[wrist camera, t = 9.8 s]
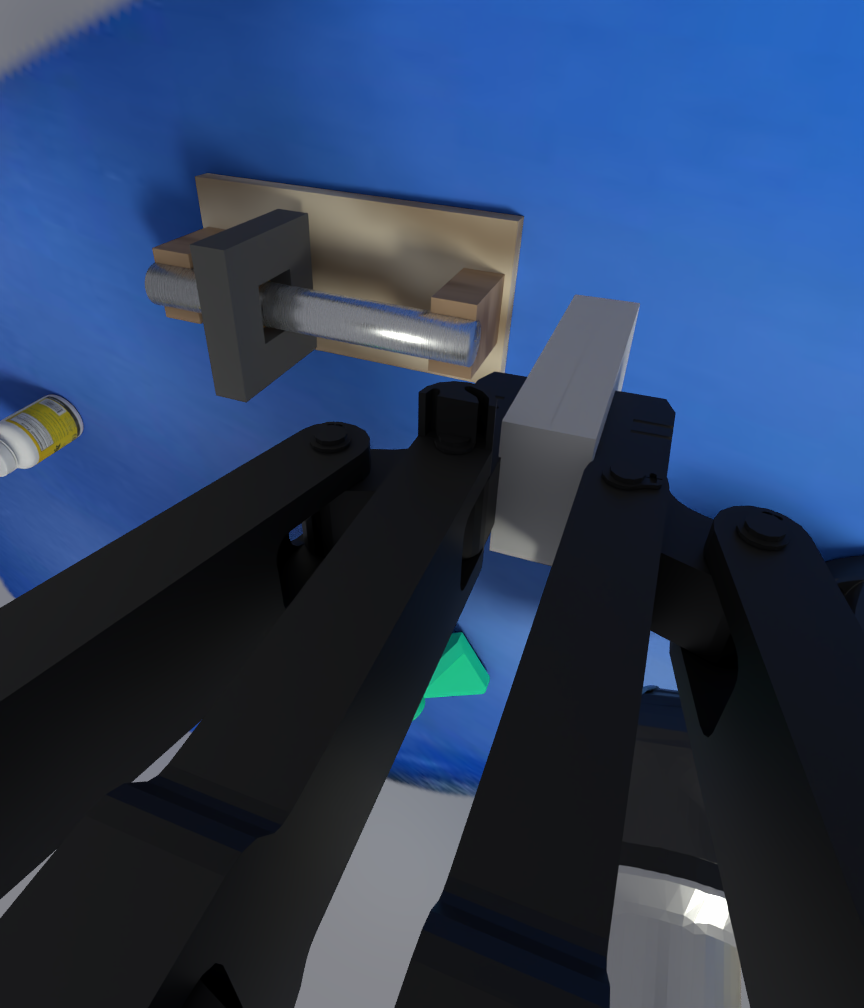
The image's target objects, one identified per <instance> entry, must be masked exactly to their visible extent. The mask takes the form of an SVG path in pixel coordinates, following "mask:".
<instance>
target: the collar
mask: <svg viewBox="0 0 864 1008" xmlns="http://www.w3.org/2000/svg"><path fill="white" fill-rule="evenodd" d="M189 245H190V251H191V256H192V262H193V268H194V273H195V279H196V284H197V290H198V296H199V301H200V307H201V313H202V318H203V324H204V329H205V335H206V341H207V346H208V352H209V358H210V363H211V369H212V375H213V380H214V386H215V391H216V395H217V396H221V397H226V398H230V399H234V400H238V401H242V402H248V401H249V400H250V399H251V398H253V397H254V396H255V395H257V394H258V393H259V392H260V391H262V390H263V389H264V388H265V387H267V386H268V385H269V384H271V383H272V382H273V381H274V380H276V379H277V378H278V377H280V376H281V375H282V374H283V373H285V372H286V371H287V370H289V369H290V368H291V367H292V366H294V365H295V364H296V363H298V362H299V361H300V360H301V359H303V358H304V357H305V356H307V355H308V354H309V353H310V352H312V351H313V350H314V349H316V348H317V337H316V336H311V335H306V334H301V333H296V332H291V331H286V330H281V329H276V328H271V327H264V328H263V321H262V312H261V304H260V296H259V287H258V286H259V285H261V284H263V283H265V282H267V281H268V280H270V281H271V282H274V283H279V284H285V285H290V286H296V287H301V288H307V289H312V290H313V278H312V263H311V248H310V234H309V219H308V213H304V212H297V211H290V210H283V209H276V210H274V211H271V212H269V213H266V214H264V215H261V216H259V217H256V218H254V219H251V220H249V221H246V222H244V223H241V224H239V225H236V226H234V227H231V228H229V229H227V230H224V231H222V232H219V233H217V234H214V235H212V236H209V237H207V238H204V239H202V240H199V241H197V242H194V243H192V244H189Z"/></svg>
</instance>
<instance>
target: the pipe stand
mask: <svg viewBox="0 0 864 1008" xmlns="http://www.w3.org/2000/svg"><path fill="white" fill-rule="evenodd" d="M195 181H196V187H197V193H198V199H199V205H200V211H201V217H202V224H203V229H201V230H198V231H196V232H193V233H190V234H188V235H185V236H183V237H180V238H177V239H175V240H172V241H169V242H167V243H164V244H162V245H159V246H156V247H154V248H152V250H153V255H154V259H155V263H160V264H166V265H171V266H177V267H182V268H188V269H192V268H193V262H192V256H191V251H190V245H189V244H192V243H194V242H197V241H199V240H202V239H204V238H207V237H209V236H212V235H214V234H217V233H219V232H222V231H224V230H227V229H229V228H231V227H234V226H236V225H239V224H241V223H244V222H246V221H249V220H251V219H254V218H256V217H259V216H261V215H264V214H266V213H269V212H271V211H274V210H276V209H283V210H290V211H297V212H304V213H308V219H309V234H310V248H311V263H312V278H313V290H318V291H324V292H329V293H335V294H340V295H346V296H351V297H357V298H362V299H368V300H373V301H379V302H384V303H390V304H395V305H401V306H406V307H412V308H417V309H423V310H428V311H431V313H435V314H440V315H446V316H451V317H457V318H462V319H468V320H473V321H480V323H481V329H480V330H481V336H480V343H479V348H478V352H477V355H476V358H475V361H474V363H473V365H472V366H471V367H465V366H460V365H455V364H450V363H445V362H440V361H435V360H430V359H425V358H420V357H415V356H410V355H405V354H400V353H395V352H390V351H385V350H380V349H375V348H370V347H365V346H360V345H355V344H350V343H345V342H340V341H335V340H331V339H326V338H321V337H317V348H316V349H315V350H320V351H325V352H330V353H335V354H340V355H344V356H349V357H354V358H359V359H364V360H369V361H373V362H378V363H383V364H388V365H393V366H398V367H402V368H407V369H412V370H417V371H422V372H427V373H431V374H436V375H441V376H446V377H451V378H456V379H460V380H465V381H470V382H475V383H476V382H477V380H478V379H480V378H482V377H484V376H486V375H488V374H490V373H492V372H494V371H495V372H501V373H505V365H506V357H507V349H508V341H509V333H510V325H511V317H512V309H513V301H514V293H515V284H516V276H517V268H518V260H519V252H520V244H521V236H522V228H523V220H524V216H518V215H510V214H503V213H496V212H488V211H481V210H474V209H466V208H459V207H452V206H445V205H437V204H430V203H423V202H415V201H408V200H401V199H393V198H386V197H379V196H371V195H364V194H357V193H349V192H342V191H335V190H327V189H320V188H313V187H305V186H298V185H291V184H284V183H276V182H269V181H262V180H254V179H247V178H240V177H232V176H225V175H218V174H210V173H205V174H202V175H198V176H195ZM165 311H166V316H167V317H170V318H174V319H179V320H184V321H189V322H194V323H199V324H201V323H203V318H202V314H201V313H196V312H191V311H186V310H181V309H176V308H172V307H167V306H165ZM474 338H475V337H474Z"/></svg>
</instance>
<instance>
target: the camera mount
mask: <svg viewBox="0 0 864 1008" xmlns="http://www.w3.org/2000/svg"><path fill="white" fill-rule="evenodd" d="M489 681H490V677H489V675H488V673H487V672H486V670H485V668H484V667H483V665H482V664H481V662H480V660H479V659H478V657H477V655H476V654H475V652H474V651H473V649H472V647H471V646H470V644H469V643H468V641H467V639H466V638H465V636H464V634H463V633H462V632H459V633H452V634H451V637H450V639H449V641H448V643H447V645H446V648H445V650H444V652H443V654H442V656H441V659H440V661H439V663H438V665H437V667H436V670H435V672H434V674H433V676H432V678H431V681H430V683H429V685H428V687H427V689H426V692H425V694H424V696H423V698H422V700H421V703H420V705H419V707H418V709H417V711H416V714H415V716H414V718H413V720H415V719H416V718H417V717H418V716H419V715H420V713H421V712H422V710H423V708H424V706H425V698H431V697H446V696H460V695H474V694H483V693H485V692H486V689H487V686H488V683H489ZM413 720H412V721H413Z"/></svg>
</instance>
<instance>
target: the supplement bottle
mask: <svg viewBox="0 0 864 1008" xmlns="http://www.w3.org/2000/svg"><path fill="white" fill-rule="evenodd" d="M82 432H83V422H82V419H81V417H80V415H79V413H78V412H77V410H76V409H75V408H74V406H73V405H72V404H71V403H69V402H68V401H67V400H65V399H64V398H62V397H60V396H57V395H47V396H44V397H43V398H41V399H39V400H37V401H35V402H33V403H32V404H30V405H28V406H26V407H24V408H23V409H21V410H19V411H17V412H15V413H14V414H12V415H10V416H8V417H7V418H5V419H3V420H1V421H0V477H3V476H6V475H7V474H9V473H11V472H13V471H14V470H15V469H16V468H22V469H26V468H31V467H33V466H34V465H36V464H38V463H39V462H41V461H42V460H44V459H45V458H47V457H48V456H50V455H52V454H53V453H55V452H56V451H58V450H59V449H61V448H62V447H64V446H65V445H67V444H68V443H70V442H72V441H73V440H75V439H76V438H78V437H79V436H80V435H81V434H82Z"/></svg>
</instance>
